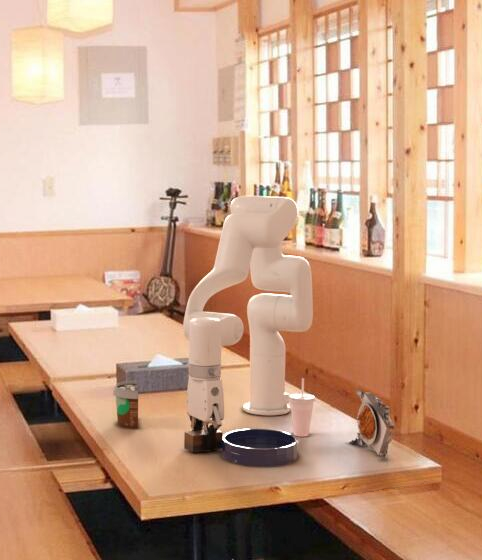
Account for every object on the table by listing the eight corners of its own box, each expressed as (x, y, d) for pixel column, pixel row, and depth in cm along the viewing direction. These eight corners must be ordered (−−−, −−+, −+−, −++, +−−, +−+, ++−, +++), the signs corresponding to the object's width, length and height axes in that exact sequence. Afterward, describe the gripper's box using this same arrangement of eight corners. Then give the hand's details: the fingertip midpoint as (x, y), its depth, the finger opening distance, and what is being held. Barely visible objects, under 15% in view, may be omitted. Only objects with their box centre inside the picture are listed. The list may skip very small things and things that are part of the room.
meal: (346, 443, 252) (348, 390, 250) (362, 442, 253) (364, 389, 252) (377, 461, 238) (378, 405, 236) (393, 459, 239) (395, 403, 238)
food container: (112, 417, 273) (112, 380, 272) (136, 417, 274) (136, 380, 273) (113, 430, 261) (113, 391, 260) (138, 430, 262) (138, 390, 260)
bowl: (269, 441, 253) (269, 425, 253) (312, 460, 238) (312, 442, 238) (208, 450, 245) (208, 434, 244) (248, 470, 230) (249, 453, 229)
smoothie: (316, 432, 261) (318, 377, 260) (311, 439, 255) (312, 382, 254) (291, 430, 263) (292, 375, 262) (285, 436, 257) (286, 380, 256)
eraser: (213, 444, 249) (213, 427, 249) (222, 448, 246) (222, 431, 245) (184, 448, 245) (184, 431, 245) (192, 452, 242) (193, 435, 241)
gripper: (237, 376, 238) (236, 455, 240) (200, 363, 252) (199, 437, 254) (209, 379, 234) (208, 459, 236) (173, 365, 249) (172, 441, 251)
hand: (203, 447), depth 245 cm, fingers closed on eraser, 4 cm apart
